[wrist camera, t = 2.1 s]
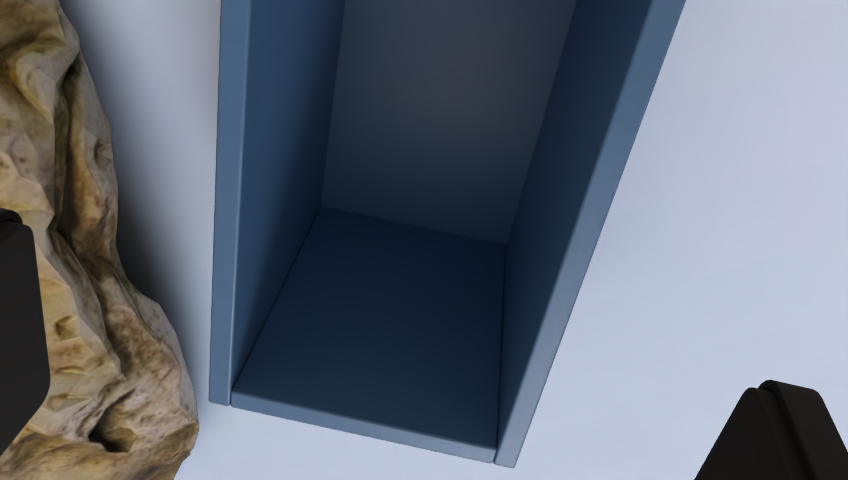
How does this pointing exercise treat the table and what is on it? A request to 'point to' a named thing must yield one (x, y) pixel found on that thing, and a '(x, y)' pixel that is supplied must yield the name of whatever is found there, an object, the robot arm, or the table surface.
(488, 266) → the blue bin
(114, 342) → the rock
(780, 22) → the table surface
